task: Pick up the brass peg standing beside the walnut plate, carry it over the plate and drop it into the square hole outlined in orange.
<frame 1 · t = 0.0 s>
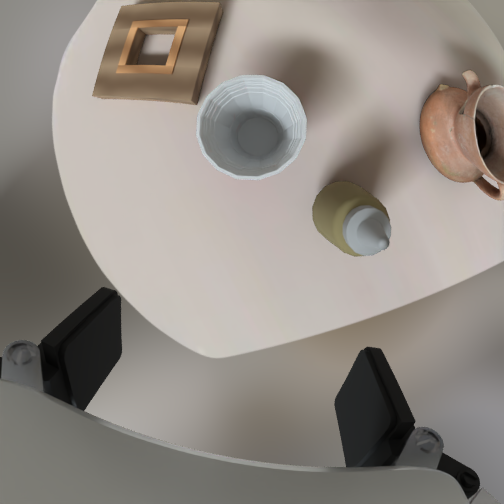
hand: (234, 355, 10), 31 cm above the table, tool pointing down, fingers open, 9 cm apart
walnut plate: (158, 52, 33), on the table
ceramic jug: (450, 139, 34), on the table
plastic cup: (256, 136, 37), on the table
squeeze bottle: (336, 207, 39), on the table
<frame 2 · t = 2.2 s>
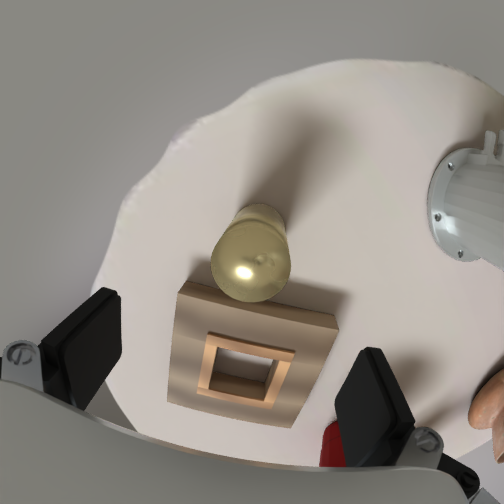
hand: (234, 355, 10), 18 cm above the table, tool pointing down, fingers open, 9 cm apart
walnut plate: (244, 358, 32), on the table
ceramic jug: (492, 389, 33), on the table
plastic cup: (340, 429, 36), on the table
brass peg: (258, 229, 28), on the table
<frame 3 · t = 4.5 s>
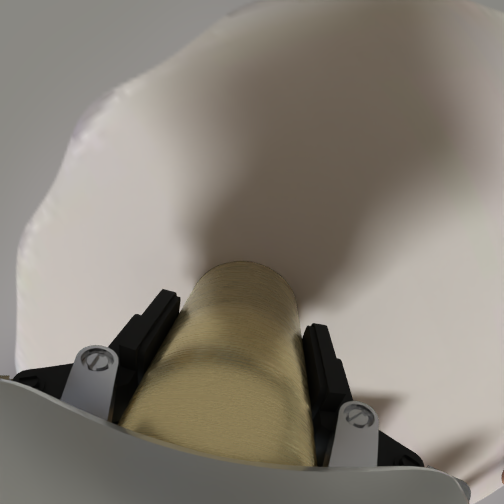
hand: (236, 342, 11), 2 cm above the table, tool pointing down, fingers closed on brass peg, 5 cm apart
brass peg: (242, 312, 13), on the table, touching gripper
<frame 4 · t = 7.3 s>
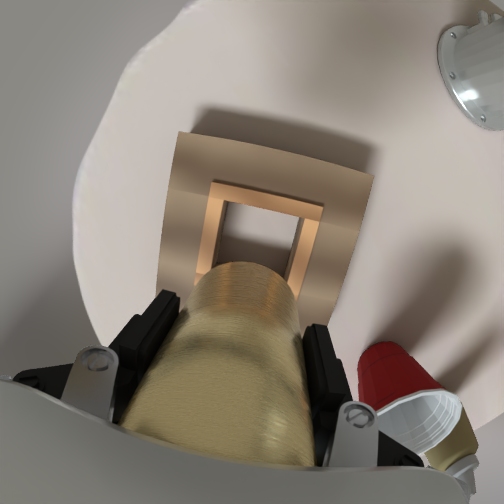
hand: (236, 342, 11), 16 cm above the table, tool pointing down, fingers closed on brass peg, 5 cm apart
walnut plate: (257, 237, 27), on the table
plastic cup: (378, 359, 30), on the table
brass peg: (242, 312, 13), point 14 cm above the table, touching gripper
squeeze bottle: (428, 401, 32), on the table
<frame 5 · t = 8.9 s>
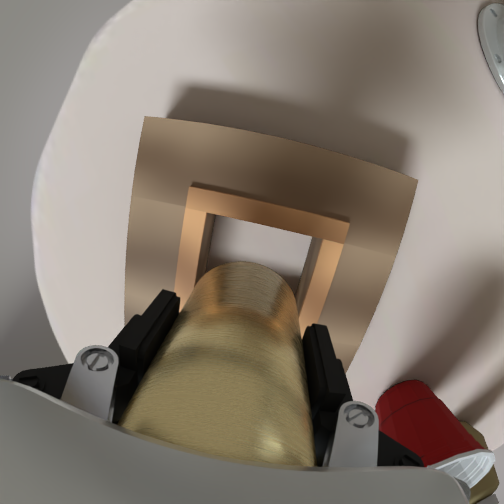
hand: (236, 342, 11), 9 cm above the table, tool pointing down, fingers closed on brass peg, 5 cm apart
walnut plate: (255, 260, 20), on the table
plastic cup: (398, 398, 23), on the table
brass peg: (242, 312, 13), point 7 cm above the table, touching gripper
squeeze bottle: (447, 433, 25), on the table
when the fingers open (4 cm above the table, at t = 10.4 s): brass peg drops 2 cm, resting in walnut plate.
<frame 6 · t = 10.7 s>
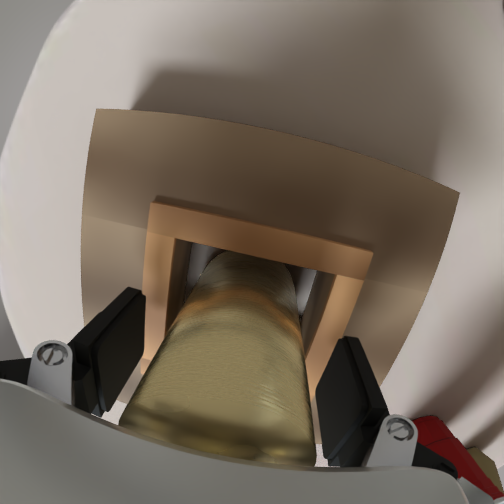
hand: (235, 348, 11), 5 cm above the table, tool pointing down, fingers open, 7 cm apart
walnut plate: (246, 294, 15), on the table
plastic cup: (410, 434, 19), on the table
brass peg: (246, 293, 15), resting in walnut plate
squeeze bottle: (457, 459, 21), on the table
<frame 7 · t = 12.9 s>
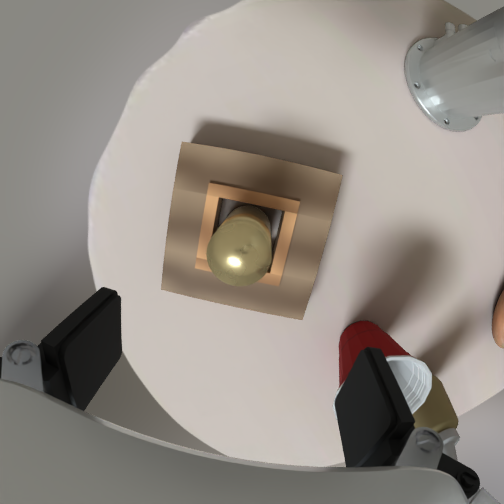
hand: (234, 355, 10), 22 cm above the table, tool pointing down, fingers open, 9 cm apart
walnut plate: (247, 228, 32), on the table
plastic cup: (357, 337, 35), on the table
brass peg: (247, 228, 32), resting in walnut plate
squeeze bottle: (410, 381, 38), on the table
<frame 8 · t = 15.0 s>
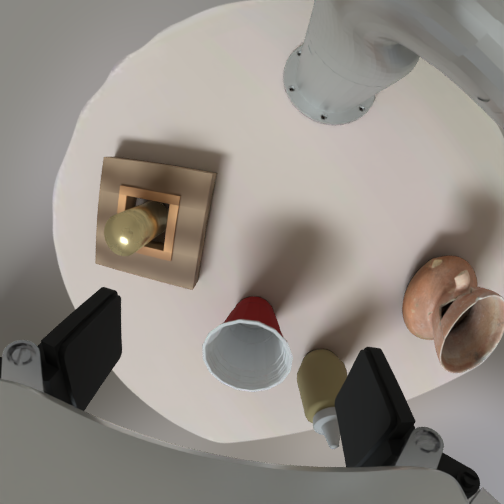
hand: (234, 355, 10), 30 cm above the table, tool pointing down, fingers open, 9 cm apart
walnut plate: (153, 218, 40), on the table
ceramic jug: (433, 294, 41), on the table
plastic cup: (252, 311, 44), on the table
brass peg: (153, 218, 40), resting in walnut plate
squeeze bottle: (318, 361, 46), on the table
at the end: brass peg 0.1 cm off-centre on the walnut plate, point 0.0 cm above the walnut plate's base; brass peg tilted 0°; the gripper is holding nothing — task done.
